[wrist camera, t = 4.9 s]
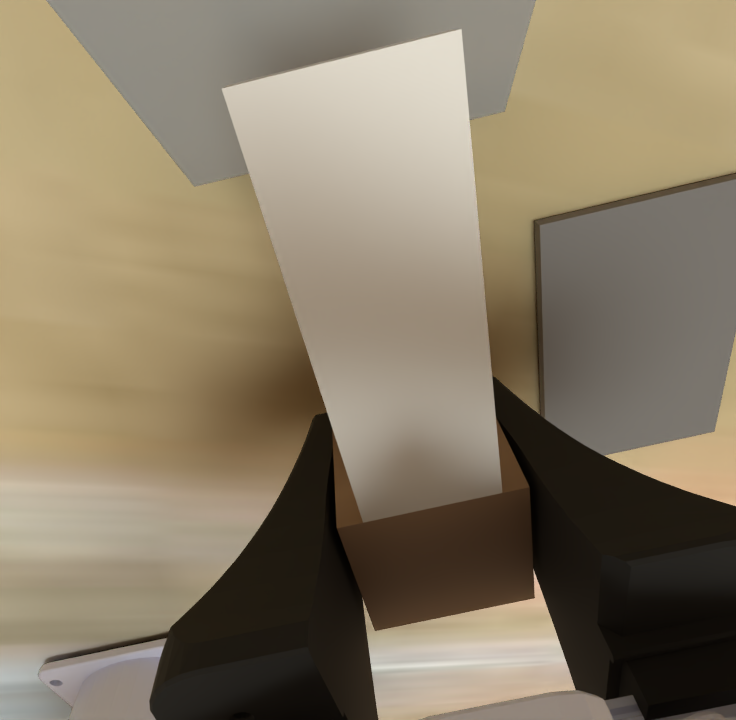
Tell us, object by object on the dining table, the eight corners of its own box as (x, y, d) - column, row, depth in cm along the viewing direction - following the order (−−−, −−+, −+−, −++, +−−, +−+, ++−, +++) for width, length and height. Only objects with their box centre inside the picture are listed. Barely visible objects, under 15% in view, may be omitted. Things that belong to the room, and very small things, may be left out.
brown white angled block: (465, 423, 16) (534, 597, 11) (355, 447, 16) (375, 631, 11) (413, 28, 10) (508, 18, 5) (243, 70, 10) (175, 99, 5)
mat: (707, 424, 18) (714, 431, 18) (542, 460, 18) (546, 468, 18) (758, 168, 13) (769, 171, 13) (534, 220, 14) (539, 225, 13)
